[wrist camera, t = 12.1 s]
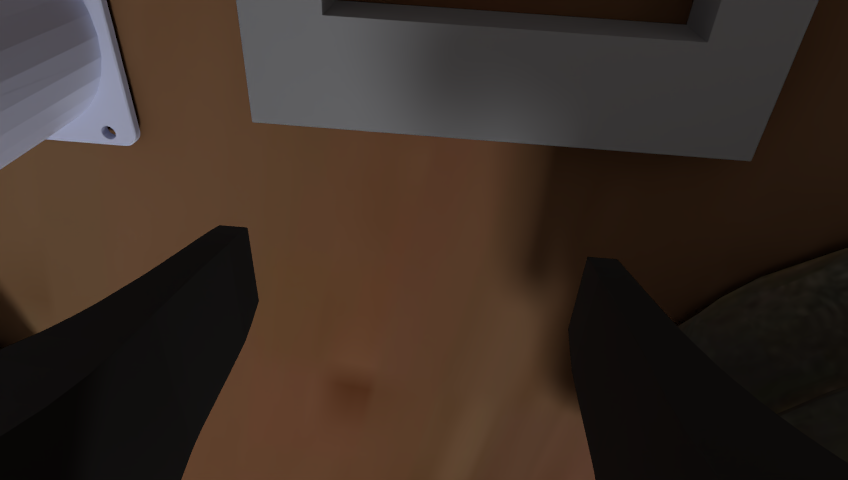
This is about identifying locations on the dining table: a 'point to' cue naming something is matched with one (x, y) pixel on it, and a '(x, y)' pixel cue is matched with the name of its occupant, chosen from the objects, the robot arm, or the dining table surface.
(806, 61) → the dining table surface
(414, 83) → the holder plate
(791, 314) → the vessel
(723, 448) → the robot arm
